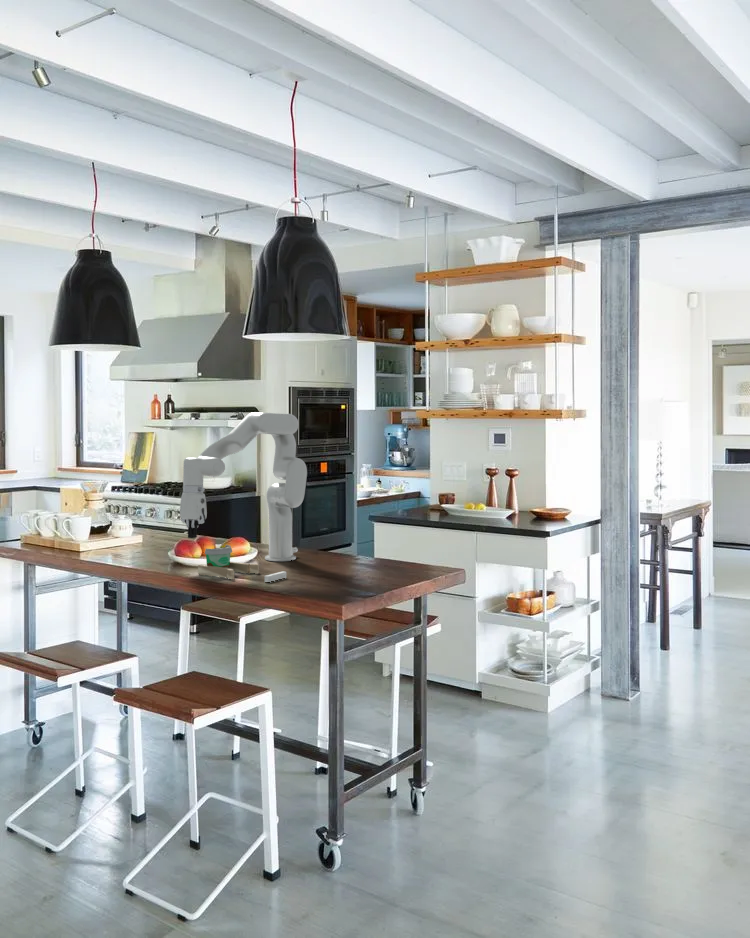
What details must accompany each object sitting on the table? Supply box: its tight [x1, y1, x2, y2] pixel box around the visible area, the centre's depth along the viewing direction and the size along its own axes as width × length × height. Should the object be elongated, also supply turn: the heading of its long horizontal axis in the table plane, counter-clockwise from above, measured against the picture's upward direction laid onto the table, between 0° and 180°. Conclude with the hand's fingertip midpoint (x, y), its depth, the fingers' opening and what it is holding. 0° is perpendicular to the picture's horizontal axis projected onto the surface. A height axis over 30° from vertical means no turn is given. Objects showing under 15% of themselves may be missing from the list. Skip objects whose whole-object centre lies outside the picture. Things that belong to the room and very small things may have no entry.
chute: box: [197, 561, 260, 580], centre depth 340 cm, size 17×18×4 cm
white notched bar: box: [264, 571, 287, 583], centre depth 329 cm, size 11×2×2 cm, turn 149°
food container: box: [204, 544, 233, 568], centre depth 341 cm, size 12×6×10 cm, turn 149°
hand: (192, 537), depth 347 cm, fingers closed
